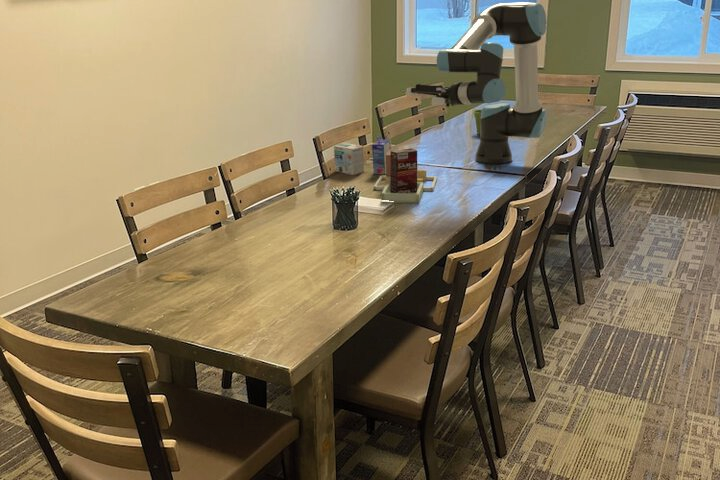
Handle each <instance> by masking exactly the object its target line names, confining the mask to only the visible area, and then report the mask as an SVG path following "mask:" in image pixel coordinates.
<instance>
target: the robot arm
mask: <svg viewBox="0 0 720 480" xmlns="http://www.w3.org/2000/svg"><path fill="white" fill-rule="evenodd" d="M545 11H546V10H545V8H544V6H543V5H542V3H540V2H539V3H538V2H531V1H528V2H509V3H507V2H501V3H498V4H493V5H491V6H489V7H487V8H485V9H484V10H482V11H481V12H479V14H477V15H476V16H475V17H474V18H473V20H472V23H471V26H470V27H469V28H468V29H467V30H466V32H464V34H462V36H461V37H460V38H459V39H458V40H457V41H456V42H455V43H454V45H453V46H452V47H451V48H450V49H447V48H445V49H441V50H439V51H438V52H437V55H436V67H437V69H438V71H439V72H441V73H448V74H450V73H452V74H453V73H454V74H455V73H460V74H461V73H462V74H463V73H465V74H466V73H467V74H469V73H470V74H471V73H472V74H476V80H470V81H462V82H461V81H459V82H455V83H452V84H451V85H450V87H448V86H447V87H446V86H445V87H443V85H431V84H430V85H428V84H421V83H418V84H415V86H412V87H406V91H405V96H407V97H408V96H419V95H428V96H435V97H432V99H431V106H438V105H439V106H441V105H445V106H446V107H450V106H452V107H455V106H457V105H458V106H461V105H462V106H463V105H467V106H470V105H474V104H475V105H477V104H488V105H485V106H483V107H482V108H481V109H482V110H481V117H480V119H481V126H480V134H479V135H480V137H479V144H478V147H477V148H476V149H477V150H476V153H475V156H474V157H475V161H476V162H478V163H483V164H490V165H491V164H492V165H494V164H495V165H497V164H507V163H510V162H511V161H512V159H513V154H512V150H511V147H510V146H511V145H510V142H509V137H514V138H526V139H527V138H528V139H532V138H533V139H538V138H541V136H542V135H543V134H544V131H545V128H546V124H547V120H548V119H547V118H548V110H547V109H546V108H543V103H542V102H541V101H540V100H539V75H538V74H539V71H538V43H539V42H540V41H541V40H542V36H544V35H545V34H546V30H547V15H546V12H545ZM497 36H501V37H502V36H503V37H504V36H507V37H509V43H510V44H512V45H513V50H514V51H513V52H514V53H513V55H514V57H513V58H514V81H515V82H514V83H515V102H514V104H512V107H511V105H510V103H506V102H505V103H504V102H503V103H498V102H501V101H502V100H504V97H505V95H506V92H507V91H506V84H505V83H504V81H503V80H502V79H501V78H500V77H501V71H502V65H503V61H504V59H503V57H504V56H503V55H504V47H503V46H502V44H500V43H497V42H488V41H487V40H490V39H492V38H493V37H497ZM486 41H487V42H486ZM493 103H495V104H493Z"/></svg>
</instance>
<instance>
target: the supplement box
mask: <svg viewBox="0 0 720 480" xmlns="http://www.w3.org/2000/svg"><path fill="white" fill-rule="evenodd" d="M417 170H418V150H417V149H414V148H405V149H404V148H403V149H398V150H391V193H417Z"/></svg>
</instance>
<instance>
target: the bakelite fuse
mask: <svg viewBox="0 0 720 480" xmlns="http://www.w3.org/2000/svg"><path fill="white" fill-rule="evenodd" d="M391 151H392V150H391ZM391 151H388V152H387V154H386V174H385V176H386V177H391Z"/></svg>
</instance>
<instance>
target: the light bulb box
mask: <svg viewBox="0 0 720 480" xmlns="http://www.w3.org/2000/svg"><path fill="white" fill-rule="evenodd" d="M333 149H334V150H333V151H334V152H333V153H334V171H335V172H338V173H343V174H346V175H351V176H354V175H358V174H361V173H364V172H365V169H364V168H365V166H364V165H365V164H364V162H365V161H364V145H360V144H359V145H358V144H354V143H353V144H352V143H347V142H343V143H339V144H336V145H334V147H333Z"/></svg>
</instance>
